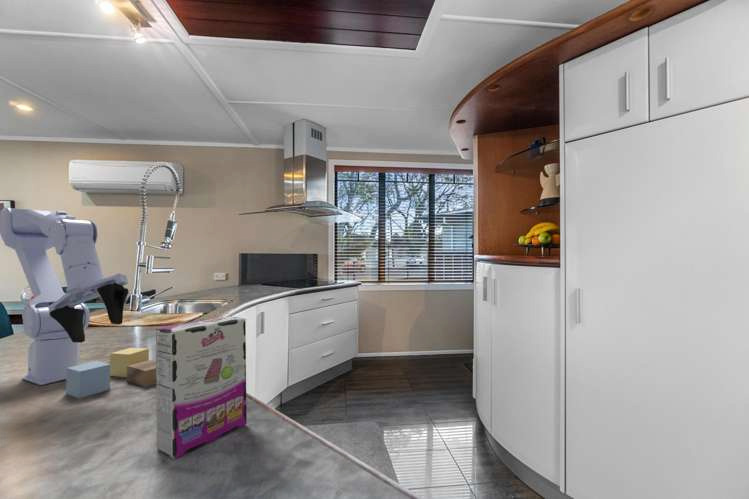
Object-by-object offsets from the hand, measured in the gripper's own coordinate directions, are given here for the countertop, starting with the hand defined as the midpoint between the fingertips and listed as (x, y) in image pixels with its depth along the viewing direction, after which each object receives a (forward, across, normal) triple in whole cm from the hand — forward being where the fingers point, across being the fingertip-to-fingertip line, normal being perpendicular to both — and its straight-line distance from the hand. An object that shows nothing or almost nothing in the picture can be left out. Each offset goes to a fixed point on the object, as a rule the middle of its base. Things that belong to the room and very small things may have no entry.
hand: (98, 332), depth 66 cm
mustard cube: (+6, -6, +15) cm, 17 cm away
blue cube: (+9, -7, +4) cm, 12 cm away
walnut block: (+11, 0, +11) cm, 15 cm away
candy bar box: (+27, +19, -12) cm, 35 cm away
